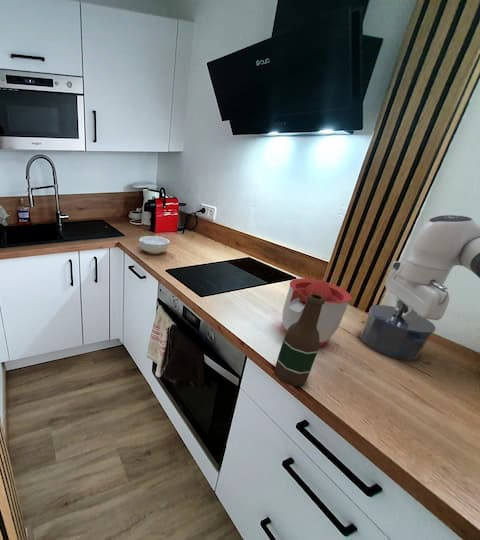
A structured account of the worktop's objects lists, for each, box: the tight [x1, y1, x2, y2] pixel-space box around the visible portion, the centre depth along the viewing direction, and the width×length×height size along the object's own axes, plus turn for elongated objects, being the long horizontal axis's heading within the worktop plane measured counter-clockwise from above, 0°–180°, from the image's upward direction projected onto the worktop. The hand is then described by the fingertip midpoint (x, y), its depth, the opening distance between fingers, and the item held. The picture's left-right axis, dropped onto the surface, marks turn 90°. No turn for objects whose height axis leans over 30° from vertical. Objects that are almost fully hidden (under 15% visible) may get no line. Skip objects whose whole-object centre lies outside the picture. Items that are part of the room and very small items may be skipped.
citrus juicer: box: [281, 277, 352, 347], centre depth 88 cm, size 16×17×20 cm
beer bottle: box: [273, 294, 324, 388], centre depth 70 cm, size 8×8×24 cm
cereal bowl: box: [138, 235, 171, 255], centre depth 160 cm, size 17×17×7 cm
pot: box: [359, 313, 432, 361], centre depth 87 cm, size 14×19×10 cm
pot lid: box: [368, 304, 436, 334], centre depth 84 cm, size 15×15×5 cm
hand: (401, 316), depth 84 cm, fingers closed on pot lid, 2 cm apart
